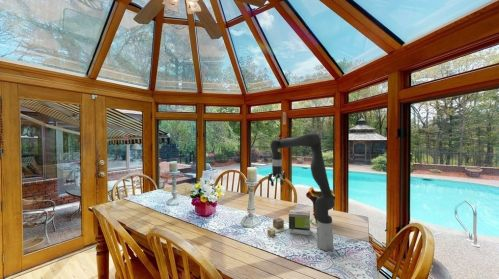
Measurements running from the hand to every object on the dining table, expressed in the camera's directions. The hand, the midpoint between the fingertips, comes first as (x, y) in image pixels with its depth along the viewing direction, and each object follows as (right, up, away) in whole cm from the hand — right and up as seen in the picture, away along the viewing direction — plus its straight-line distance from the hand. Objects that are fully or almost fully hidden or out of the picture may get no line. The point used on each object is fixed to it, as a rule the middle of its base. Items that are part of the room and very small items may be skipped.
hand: (277, 185), depth 179 cm
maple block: (-6, -34, -13) cm, 37 cm away
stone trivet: (+1, -33, -2) cm, 33 cm away
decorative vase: (+37, -32, +8) cm, 50 cm away
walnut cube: (+1, -32, -2) cm, 32 cm away
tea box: (+16, -33, -9) cm, 38 cm away
